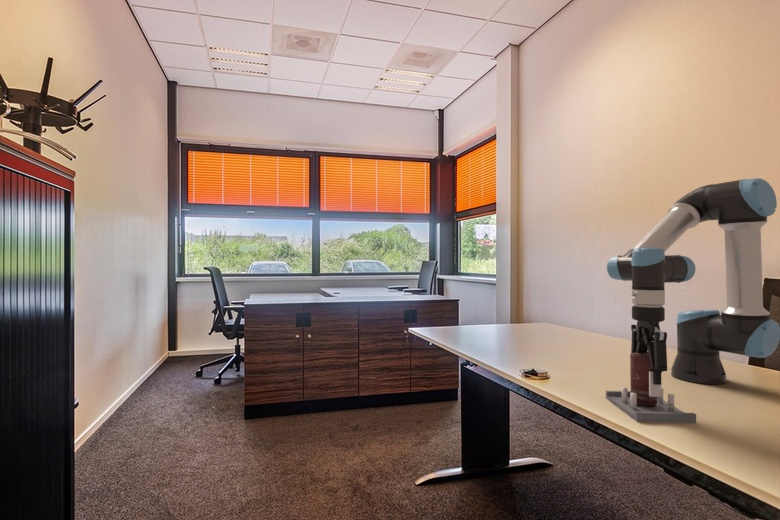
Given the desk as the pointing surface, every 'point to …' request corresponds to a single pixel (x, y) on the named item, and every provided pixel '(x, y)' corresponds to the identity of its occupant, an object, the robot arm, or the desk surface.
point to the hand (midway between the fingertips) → (648, 391)
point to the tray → (649, 408)
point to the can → (641, 379)
